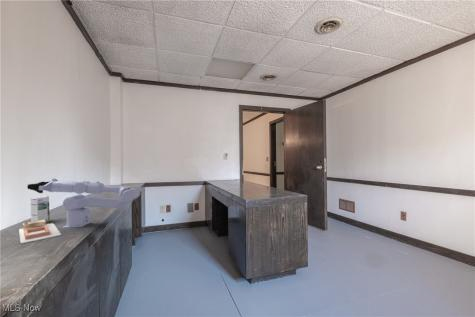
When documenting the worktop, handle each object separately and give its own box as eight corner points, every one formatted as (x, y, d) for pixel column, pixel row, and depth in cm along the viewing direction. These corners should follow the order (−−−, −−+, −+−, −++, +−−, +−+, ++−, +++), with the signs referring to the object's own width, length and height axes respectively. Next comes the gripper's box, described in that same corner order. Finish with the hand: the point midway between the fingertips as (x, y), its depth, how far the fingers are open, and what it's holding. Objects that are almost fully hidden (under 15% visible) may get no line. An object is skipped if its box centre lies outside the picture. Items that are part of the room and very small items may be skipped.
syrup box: (37, 224, 113) (36, 197, 113) (30, 223, 115) (30, 197, 115) (49, 221, 118) (49, 195, 118) (43, 220, 120) (43, 195, 120)
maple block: (44, 225, 111) (44, 219, 111) (45, 227, 108) (45, 220, 108) (23, 229, 105) (23, 223, 105) (23, 231, 102) (23, 224, 102)
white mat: (53, 223, 115) (53, 223, 115) (61, 235, 97) (61, 234, 97) (18, 229, 105) (18, 229, 105) (20, 244, 87) (20, 243, 87)
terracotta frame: (24, 233, 99) (23, 229, 99) (46, 228, 105) (46, 225, 105) (25, 239, 91) (25, 236, 91) (49, 234, 97) (49, 231, 97)
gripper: (72, 177, 118) (45, 176, 116) (53, 180, 103) (22, 179, 102) (72, 190, 118) (45, 189, 116) (52, 195, 103) (21, 193, 102)
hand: (34, 185), depth 109 cm, fingers open, 7 cm apart
